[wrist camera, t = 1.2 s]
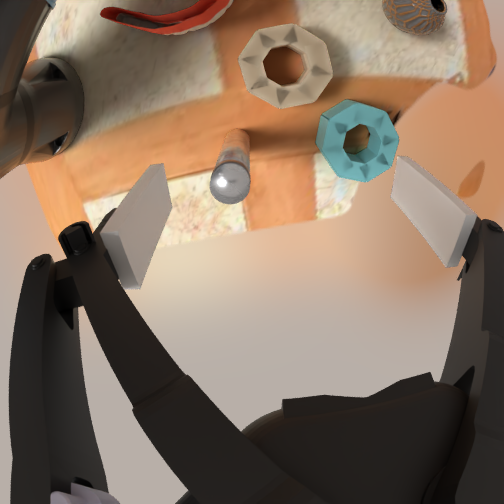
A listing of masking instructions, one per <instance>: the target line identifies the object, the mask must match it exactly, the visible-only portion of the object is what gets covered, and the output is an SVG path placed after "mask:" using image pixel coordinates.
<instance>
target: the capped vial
mask: <svg viewBox="0 0 504 504" xmlns="http://www.w3.org/2000/svg"><path fill="white" fill-rule="evenodd" d="M249 189H250V139H249V136H248V134H247V133H246V132H245V131H244V130H241V129H233V130H231V131H229V132H228V133H227V134H226V136H225V139H224V142H223V145H222V148H221V151H220V154H219V156H218V159H217V162H216V165H215V168H214V170H213V173H212V176H211V181H210V191H211V193H212V195H213V196H214V198H215V199H217V200H218V201H220V202H222V203H225V204H236V203H238V202H240V201H242V200H243V199H244V198H245V197H246V196H247V195H248V193H249Z"/></svg>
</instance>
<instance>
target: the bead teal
mask: <svg viewBox="0 0 504 504" xmlns="http://www.w3.org/2000/svg"><path fill="white" fill-rule="evenodd" d="M358 124H363V125H366V127H367V128H368V130H369V132H370V138H369V142H368V145H367V148H365V149H364V150H362V151H360V152H359V153H357V154H356V155H354V154H350V153H346V152H345V151H344V149H343V144H344V140H345V135H346V132H347V131H349V130H350V129H352V128H354V127H355V126H357V125H358ZM315 143H316V145H317V147H318V148H319V150H320V151H321V153H322V154H323V156H324V157H325V159H326V160H327V162H328V163H329V165H330V166H331V168H332V169H333V170H334V172H335V173H336V175H337V176H339V177H341V178H346V179H351V180H356V181H361V182H366V181H367V182H368V181H370V180H371V179H373V178H375V177H376V176H378V175H380V174H381V173H383V172H384V171H386V170H388V169H389V168H390V166H392V163H393V160H394V156H395V153H396V150H397V146H398V143H399V136H398V134H397V132H396V131H395V128H394V126H393V124H392V122H391V120H390V118H389V116H388V114H387V112H385V111H383V110H381V109H378V108H376V107H373V106H370V105H366V104H363V103H360V102H356V101H353V100H349V99H347V100H346V99H345V100H344V101H342V102H340V103H339V104H337V105H335V106H334V107H332V108H331V109H329V110H327V111H326V112H324V113H322V115H321V118H320V122H319V127H318V132H317V137H316V141H315Z"/></svg>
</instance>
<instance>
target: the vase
mask: <svg viewBox="0 0 504 504" xmlns="http://www.w3.org/2000/svg"><path fill="white" fill-rule="evenodd" d="M383 10H384V13H385V15H386V17H387V18H388V19H389V21H390V22H391V23H392V24H393V25H394V26H396V27H397V28H399V29H400V30H402V31H404V32H407V33H410V34H414V35H427V34H431V33H433V32H435V31H437V30H438V29H439V28H440V27H441V26H442V25H443V23H444V19H445V13H446V12H447V6H446V3H445V2H444V0H383Z"/></svg>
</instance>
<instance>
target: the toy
mask: <svg viewBox="0 0 504 504" xmlns="http://www.w3.org/2000/svg"><path fill="white" fill-rule="evenodd" d="M233 1H234V0H199V1H198V2H197V3H196V4H194V5H193V6H191V7H189V8H186V9H184V10H181V11H178V12H175V13H171V14H165V15H160V16H153V15H147V14H144V13H140V12H133V11H129V10H125V9H121V8H117V7H107V8H104V9H103V10H102V11H101V13H100V15H101V17H103V18H106V19H109V20H111V21H114V22H117V23H120V24H123V25H126V26H130V27H133V28H136V29H140V30H144V31H148V32H152V33H157V34H163V35H170V34H174V35H180V34H185V33H187V32H188V31H195V30H198V29H201V28H204V27H206V26H208V25H209V24H210V23H213V22H215V21H216V20H217V19H218V18H219V17H221V16H222V15H223V14H224V13H225V12H226V9H227V8H229V7H230V6H231V4H232V2H233Z"/></svg>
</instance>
